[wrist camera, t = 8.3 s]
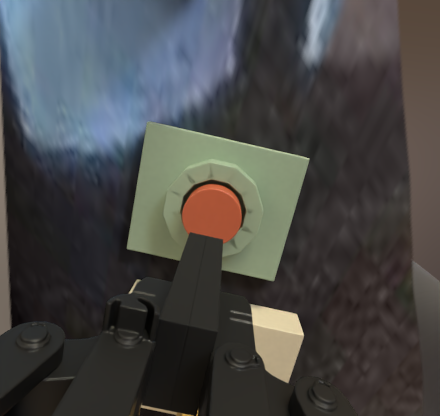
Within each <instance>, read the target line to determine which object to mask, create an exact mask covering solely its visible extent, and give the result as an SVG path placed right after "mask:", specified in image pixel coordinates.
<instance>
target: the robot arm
mask: <svg viewBox="0 0 440 416" xmlns="http://www.w3.org/2000/svg"><path fill="white" fill-rule="evenodd" d="M222 253H223V239H219V238H214V237H210V236H205V235H201V234H196V233H192V232H190V233H189V236H188V239H187V242H186V244H185V247H184V250H183V253H182V256H181V259H180V261H179V264H178V267H177V270H176V273H175V276H174V278H173V281H172V282H169V281H165V280H160V279H155V278H151V277H146V278H144V279H142V280H141V281H139V282H137V284H136V286H135V288H134V289H133V292H132V293H131V294H121V295H118V296H115V297H112V298H111V299H110V300H109V301H108V302H107V303H106V308H105V315H104V321H103V328H102V332H101V334H100V335H99V336H96V337H93V338H87V339H65V333H64V332H63V330H62V328H60V327H59V326H57V325H55V324H53V323H48V322H29V323H25V324H20V325H18V326H16V327H14V328H12V329H10V330H8V331H7V332H5V333H4V334H2V335H1V336H0V416H139V414H140V409H141V405H143V406H148V407H153V408H158V409H163V410H168V411H173V412H178V413H182V414H187V415H192V416H196V415H197V411H198V416H358V415H357V413H356V412H355V410H354V409H353V407H352V406H351V404H350V403H349V401H348V400H347V398H346V397H345V396H344V395H343V394H342V392H341V391H340V390H339V389H338V388H336V387H335V386H334V385H332V384H331V383H329V382H327V381H325V380H323V379H321V378H317V377H311V376H307V377H301V378H300V379H299V380H298V381H297V382H296V384H295V386H293V385H291V384H289V383H287V382H284V381H282V380H280V379H278V378H276V377H275V376H273V375H271V374H270V373H269V372H268V371H266V370H265V365H264V362H263V360H262V358H261V356H260V355H259V354H258V353H257V352H256V347H255V338H254V329H253V320H252V311H251V305H250V304H249V302H248V301H247V300H246V298H245V297H244V296H239V295H234V294H230V293H225V292H220V288H221V270H222Z"/></svg>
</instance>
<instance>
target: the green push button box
mask: <svg viewBox="0 0 440 416" xmlns="http://www.w3.org/2000/svg"><path fill="white" fill-rule="evenodd" d="M308 163H309V159H308V158H306V157H303V156H298V155H294V154H290V153H285V152H281V151H277V150H272V149H268V148H264V147H259V146H255V145H251V144H246V143H242V142H238V141H233V140H229V139H225V138H220V137H216V136H212V135H207V134H203V133H199V132H194V131H190V130H186V129H181V128H177V127H173V126H168V125H164V124H160V123H155V122H147V126H146V132H145V138H144V144H143V150H142V156H141V163H140V169H139V175H138V181H137V187H136V194H135V200H134V206H133V212H132V218H131V225H130V231H129V237H128V243H127V249H129V250H134V251H138V252H143V253H148V254H152V255H157V256H161V257H166V258H170V259H175V260H179V261H180V259H181V256H182V253H183V250H184V247H185V244H186V242H187V239H188V236H189V235H188V233H187V232H186V230H185V228H184V226H183V222H182V211H183V207H184V205H185V203H186V201H187V199H188V198H189V196H190V195H191V193H192V192H193V191H194V190H196V189H197V188H199V187H201V186H203V185H207V184H219V185H222V186H225V187H227V188H228V189H230V190H231V191H232V192H233V193H234V194H235V195H236V196H237V198H238V200H239V202H240V206H241V213H242V221H241V226H240V228H239V231H238V232H237V234H236V235H235V236H234V237H233V238H232V239H231V240H230V241H228V242H226V243H224V244H223V253H222V270H225V271H229V272H234V273H238V274H243V275H247V276H252V277H256V278H261V279H266V280H270V281H274V279H275V276H276V272H277V269H278V266H279V262H280V259H281V255H282V252H283V248H284V245H285V242H286V238H287V235H288V231H289V228H290V225H291V221H292V218H293V214H294V211H295V208H296V204H297V201H298V197H299V194H300V191H301V187H302V184H303V180H304V177H305V174H306V170H307V167H308Z"/></svg>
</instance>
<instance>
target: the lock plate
mask: <svg viewBox="0 0 440 416" xmlns="http://www.w3.org/2000/svg"><path fill="white" fill-rule="evenodd" d="M139 281H141V280H139V279H137V280H136V282H135V283H134V285H133V287H132V288H131V290H130V292H129V294H131V293H132V292H133V289H134V288H135V286H136V284H137V282H139ZM250 305H251V311H252V320H253V329H254V338H255V347H256V352H257V353H258V354H259V355H260V356H261V358H262V360H263V362H264V365H265V370H266V371H268V372H269V373H270V374H271V375H273V376H275V377H276V378H278V379H280V380H282V381H284V382H287V383H288V382H289V379H290V376H291V373H292V370H293V367H294V364H295V361H296V358H297V355H298V352H299V349H300V346H301V343H302V340H303V338H304V334H303V331H302V328H301V325H300V322H299V319H298V316H297V314H294V313H290V312H285V311H281V310H276V309H271V308H267V307H262V306H258V305H253V304H250ZM141 408H145V409H150V410H155V411H160V412H165V413H169V414H174V415H177V412H173V411H168V410H163V409H158V408H153V407H148V406H143V405H141Z"/></svg>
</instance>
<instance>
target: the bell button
mask: <svg viewBox="0 0 440 416" xmlns="http://www.w3.org/2000/svg"><path fill="white" fill-rule="evenodd" d="M241 221H242V213H241V206H240V202H239V200H238V198H237V196H236V195H235V194H234V193H233V192H232V191H231V190H230V189H228V188H227V187H225V186H222V185H219V184H207V185H203V186H201V187H199V188H197V189H196V190H194V191H193V192H192V193H191V195H190V196H189V198H188V199H187V201H186V203H185V205H184V207H183V211H182V222H183V226H184V228H185V230H186V232H187V233H188V235H189V233H190V232H192V233H196V234H201V235H205V236H210V237H214V238H219V239H223V244H224V243H226V242H228V241H230V240H231V239H232V238H233V237H234V236H235V235H236V234H237V232H238V231H239V228H240V226H241Z"/></svg>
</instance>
